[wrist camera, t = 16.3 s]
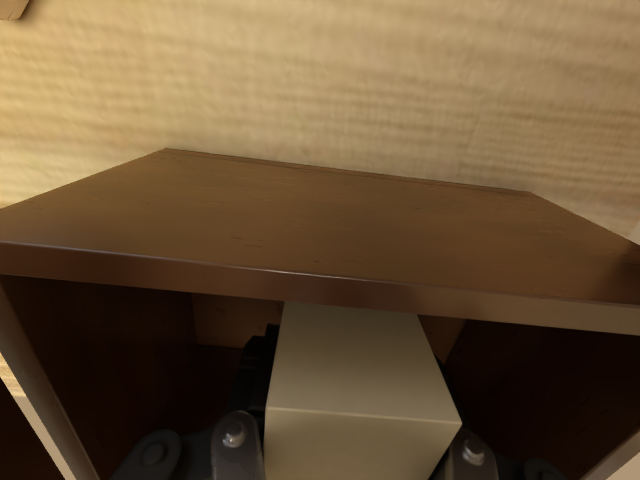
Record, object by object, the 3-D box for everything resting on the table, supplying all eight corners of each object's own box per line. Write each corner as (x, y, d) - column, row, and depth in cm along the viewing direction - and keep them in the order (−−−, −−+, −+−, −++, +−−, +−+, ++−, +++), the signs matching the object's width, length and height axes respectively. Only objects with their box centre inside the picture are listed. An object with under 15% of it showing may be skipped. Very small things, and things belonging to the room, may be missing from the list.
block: (287, 283, 11) (265, 408, 7) (409, 296, 12) (463, 424, 7) (281, 367, 14) (261, 499, 9) (382, 375, 14) (410, 509, 9)
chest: (531, 192, 14) (801, 323, 6) (446, 364, 20) (528, 543, 12) (164, 147, 13) (-72, 234, 5) (191, 342, 19) (98, 519, 11)
